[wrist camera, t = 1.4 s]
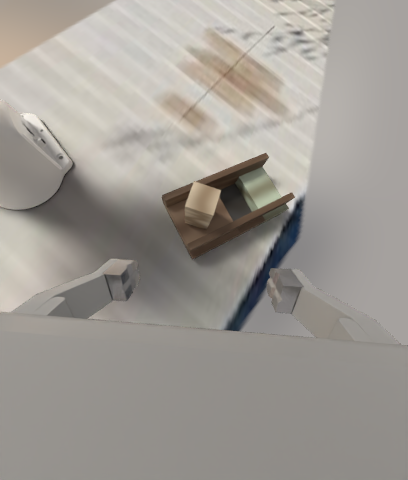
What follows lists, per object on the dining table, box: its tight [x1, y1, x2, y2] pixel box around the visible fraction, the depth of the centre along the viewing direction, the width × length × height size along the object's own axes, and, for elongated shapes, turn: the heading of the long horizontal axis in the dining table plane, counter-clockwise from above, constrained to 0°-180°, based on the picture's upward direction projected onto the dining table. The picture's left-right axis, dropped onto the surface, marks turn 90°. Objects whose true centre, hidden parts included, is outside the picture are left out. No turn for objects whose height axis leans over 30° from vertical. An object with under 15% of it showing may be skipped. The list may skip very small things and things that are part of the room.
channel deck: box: [162, 153, 295, 259], centre depth 33 cm, size 14×24×6 cm, turn 118°
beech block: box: [185, 181, 221, 230], centre depth 28 cm, size 4×4×8 cm
